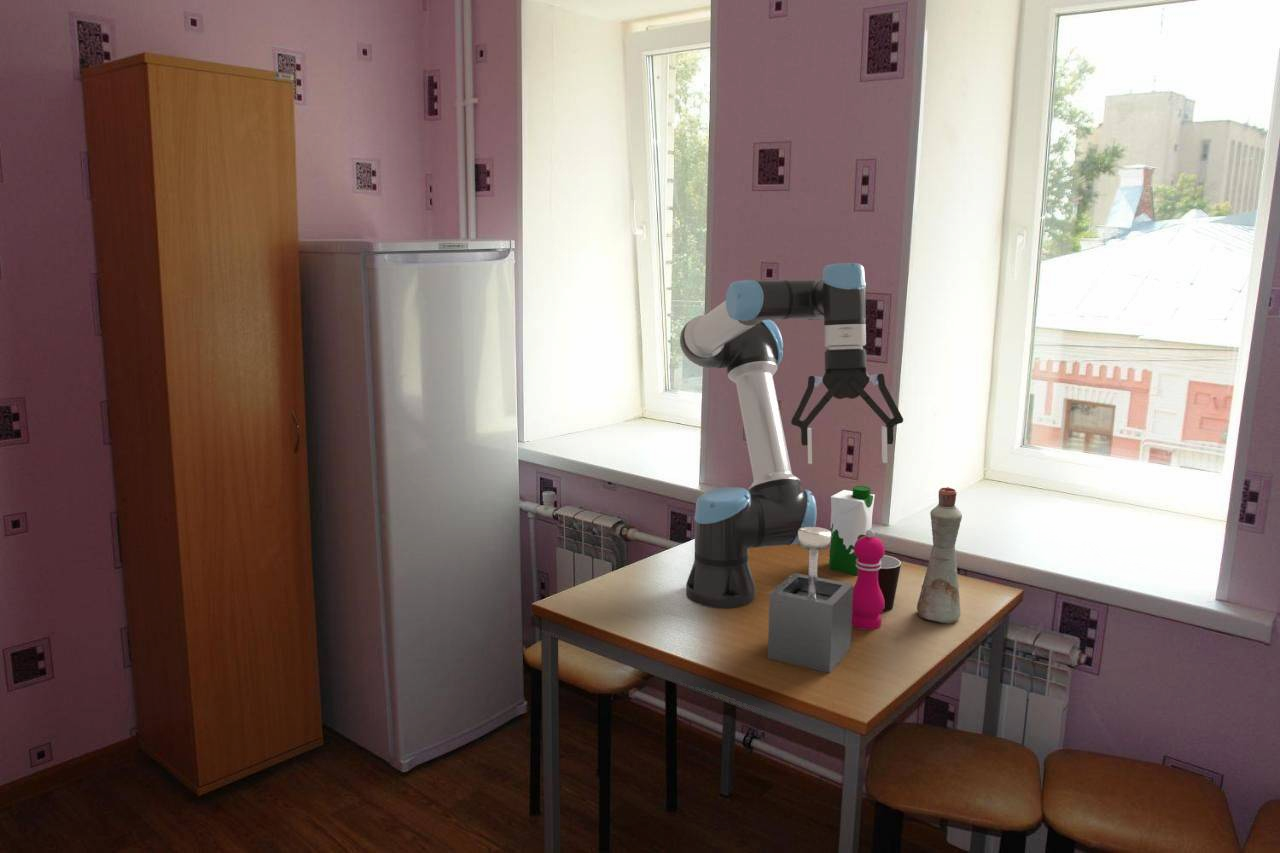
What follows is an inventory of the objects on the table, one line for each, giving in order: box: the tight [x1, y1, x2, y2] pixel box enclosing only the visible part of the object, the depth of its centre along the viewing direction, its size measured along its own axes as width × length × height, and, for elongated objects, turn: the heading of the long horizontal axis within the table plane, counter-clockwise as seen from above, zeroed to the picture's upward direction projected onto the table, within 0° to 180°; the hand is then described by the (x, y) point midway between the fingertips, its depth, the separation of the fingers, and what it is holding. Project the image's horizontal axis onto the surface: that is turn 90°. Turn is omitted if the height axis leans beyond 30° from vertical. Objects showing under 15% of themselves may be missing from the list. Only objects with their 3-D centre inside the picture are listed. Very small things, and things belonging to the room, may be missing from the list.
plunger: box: [796, 526, 831, 601], centre depth 175 cm, size 8×8×15 cm
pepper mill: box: [851, 528, 886, 631], centre depth 190 cm, size 7×7×20 cm
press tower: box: [767, 572, 855, 674], centre depth 177 cm, size 12×12×13 cm
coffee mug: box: [878, 554, 902, 613], centre depth 202 cm, size 12×9×10 cm
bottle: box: [916, 486, 963, 625], centre depth 193 cm, size 9×9×28 cm
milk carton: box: [828, 485, 876, 576], centre depth 222 cm, size 9×9×20 cm
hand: (847, 462), depth 176 cm, fingers open, 13 cm apart
